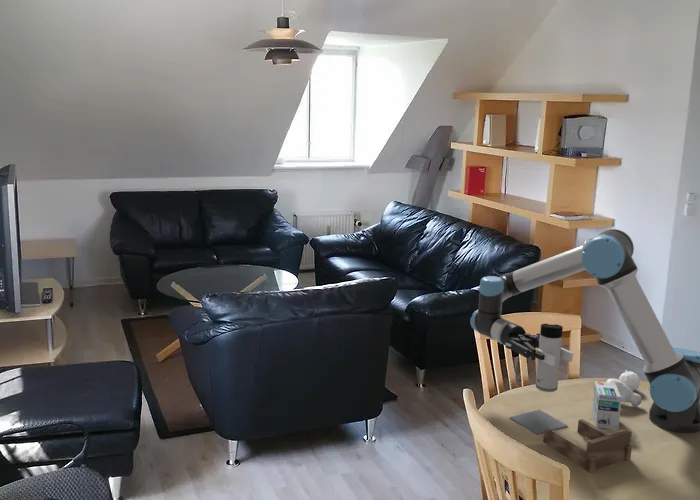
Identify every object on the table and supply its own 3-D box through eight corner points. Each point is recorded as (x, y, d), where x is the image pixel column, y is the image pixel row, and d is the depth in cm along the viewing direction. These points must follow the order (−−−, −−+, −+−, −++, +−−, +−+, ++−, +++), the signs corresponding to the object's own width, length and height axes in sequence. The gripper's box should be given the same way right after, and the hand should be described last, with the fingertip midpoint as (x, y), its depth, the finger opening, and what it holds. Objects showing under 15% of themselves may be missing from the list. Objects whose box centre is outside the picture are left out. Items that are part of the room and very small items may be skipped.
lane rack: (542, 442, 201) (545, 416, 199) (580, 431, 208) (583, 406, 206) (591, 472, 185) (594, 444, 183) (630, 459, 192) (633, 432, 190)
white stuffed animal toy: (606, 374, 228) (644, 382, 225) (601, 397, 230) (638, 406, 227) (606, 381, 223) (645, 390, 219) (601, 404, 225) (640, 414, 221)
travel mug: (536, 391, 205) (541, 326, 200) (535, 382, 211) (540, 319, 207) (558, 393, 204) (564, 328, 199) (556, 384, 210) (562, 321, 205)
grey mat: (539, 410, 220) (539, 409, 220) (567, 426, 210) (567, 425, 210) (509, 418, 215) (509, 417, 215) (537, 435, 205) (537, 434, 205)
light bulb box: (618, 430, 209) (622, 397, 206) (595, 428, 210) (598, 394, 207) (613, 414, 219) (616, 382, 216) (590, 412, 220) (594, 380, 218)
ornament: (619, 393, 234) (613, 371, 237) (626, 394, 239) (620, 373, 242) (638, 388, 231) (631, 366, 234) (645, 389, 236) (638, 368, 239)
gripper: (530, 340, 226) (585, 365, 206) (483, 349, 216) (536, 377, 197) (532, 318, 224) (588, 341, 204) (485, 327, 215) (538, 352, 195)
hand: (562, 359), depth 201 cm, fingers closed on travel mug, 6 cm apart
